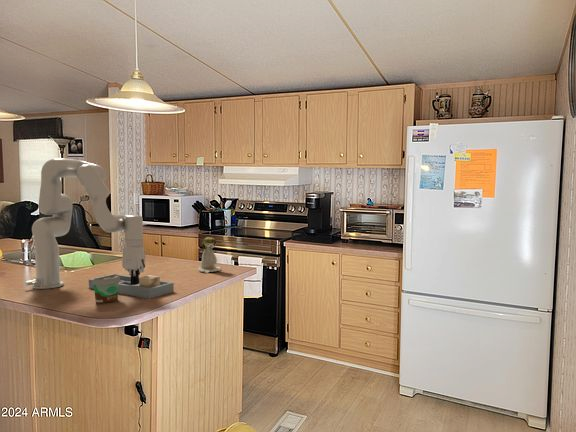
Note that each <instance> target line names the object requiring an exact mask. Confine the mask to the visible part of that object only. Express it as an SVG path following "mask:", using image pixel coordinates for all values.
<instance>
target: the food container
mask: <svg viewBox="0 0 576 432" xmlns="http://www.w3.org/2000/svg"><path fill="white" fill-rule="evenodd" d="M113 274H114V276H113V277H108V278H103V279H101V280H96V279H93V284H92V285H94V289H93V292H94V298H95V299H94V300H95V305H108V304H109V305H110V304H113V303H116V302H118V299H119V293H118V286H119V282H120V277H119V275H120V274H119V275H117V273H113Z"/></svg>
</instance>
